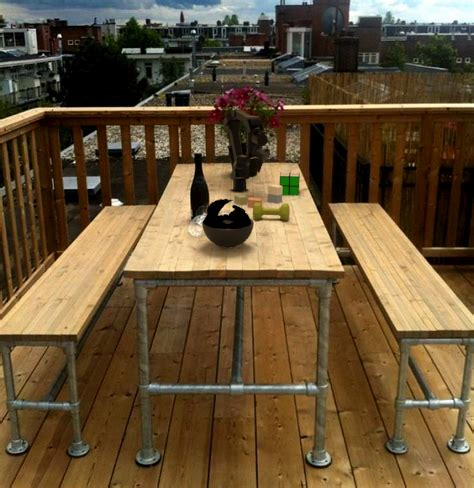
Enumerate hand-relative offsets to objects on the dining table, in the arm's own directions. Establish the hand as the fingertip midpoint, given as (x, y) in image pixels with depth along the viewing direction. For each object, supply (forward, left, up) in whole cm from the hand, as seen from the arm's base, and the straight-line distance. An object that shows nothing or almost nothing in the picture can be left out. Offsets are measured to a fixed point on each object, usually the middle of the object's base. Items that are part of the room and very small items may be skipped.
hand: (252, 174), depth 313 cm
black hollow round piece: (+41, -62, -12) cm, 75 cm away
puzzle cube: (+8, +20, -12) cm, 25 cm away
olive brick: (+3, -12, -12) cm, 17 cm away
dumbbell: (+30, -22, -12) cm, 39 cm away
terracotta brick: (+12, -12, -12) cm, 21 cm away
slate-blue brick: (+13, +2, -12) cm, 18 cm away
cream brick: (+13, +2, -8) cm, 15 cm away
